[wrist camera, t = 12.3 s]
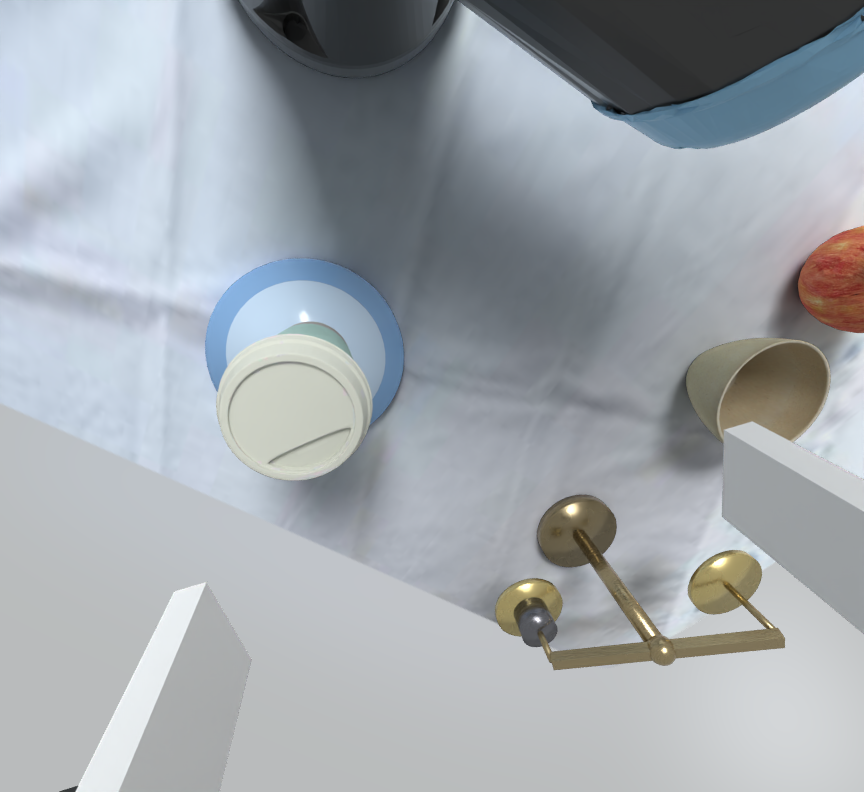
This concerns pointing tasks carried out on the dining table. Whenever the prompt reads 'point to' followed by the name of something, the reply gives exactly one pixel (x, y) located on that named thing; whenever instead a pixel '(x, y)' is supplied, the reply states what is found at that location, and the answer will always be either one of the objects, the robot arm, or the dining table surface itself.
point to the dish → (309, 319)
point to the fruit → (836, 282)
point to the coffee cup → (294, 403)
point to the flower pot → (760, 385)
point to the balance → (627, 595)
